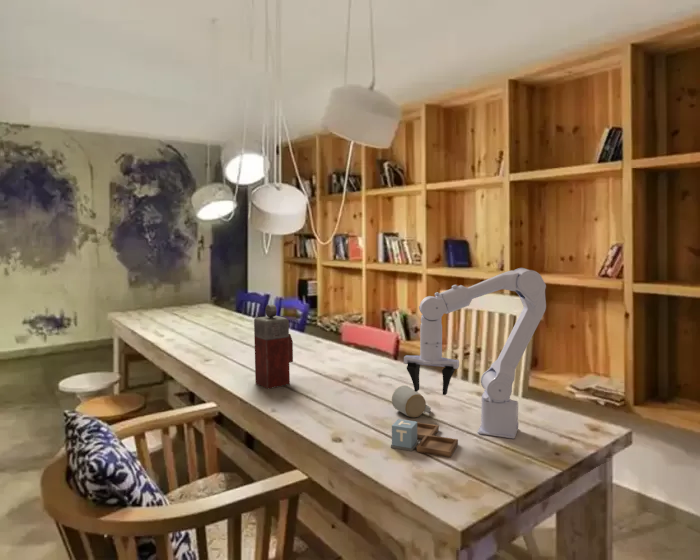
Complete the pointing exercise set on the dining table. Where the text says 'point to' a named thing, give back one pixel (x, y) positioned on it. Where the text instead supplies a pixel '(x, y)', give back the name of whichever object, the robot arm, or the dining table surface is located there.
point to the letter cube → (404, 433)
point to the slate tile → (405, 447)
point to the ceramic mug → (409, 402)
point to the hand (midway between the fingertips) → (430, 392)
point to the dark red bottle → (272, 349)
